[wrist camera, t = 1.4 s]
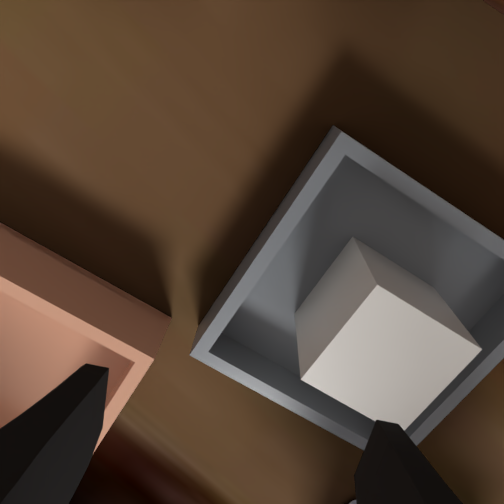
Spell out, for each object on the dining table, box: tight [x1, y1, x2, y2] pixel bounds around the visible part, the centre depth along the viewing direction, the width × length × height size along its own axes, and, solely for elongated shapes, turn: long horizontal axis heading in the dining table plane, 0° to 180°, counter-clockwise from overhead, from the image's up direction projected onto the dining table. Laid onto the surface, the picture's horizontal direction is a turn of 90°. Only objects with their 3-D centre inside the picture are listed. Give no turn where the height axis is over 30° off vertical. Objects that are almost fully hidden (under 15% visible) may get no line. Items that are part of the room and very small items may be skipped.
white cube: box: [295, 237, 482, 430], centre depth 19 cm, size 4×4×5 cm
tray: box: [190, 125, 504, 450], centre depth 20 cm, size 11×11×2 cm
